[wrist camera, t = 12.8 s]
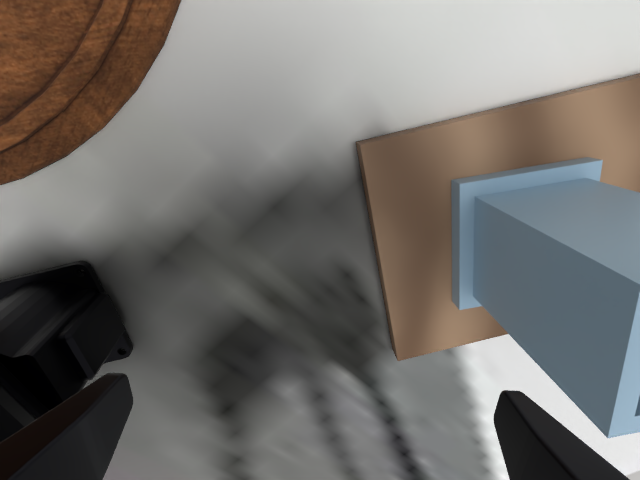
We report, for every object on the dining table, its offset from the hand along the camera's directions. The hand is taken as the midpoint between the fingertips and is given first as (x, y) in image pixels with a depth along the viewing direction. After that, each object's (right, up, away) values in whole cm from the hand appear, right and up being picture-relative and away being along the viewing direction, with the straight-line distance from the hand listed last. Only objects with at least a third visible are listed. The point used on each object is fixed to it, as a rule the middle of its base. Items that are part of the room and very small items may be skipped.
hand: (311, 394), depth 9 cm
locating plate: (+11, +4, +13) cm, 18 cm away
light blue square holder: (+12, +4, +12) cm, 17 cm away
